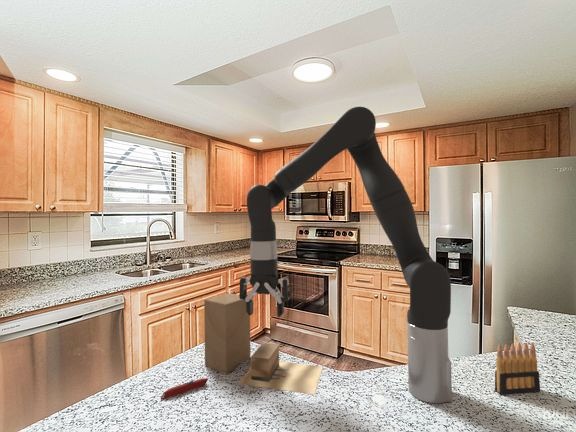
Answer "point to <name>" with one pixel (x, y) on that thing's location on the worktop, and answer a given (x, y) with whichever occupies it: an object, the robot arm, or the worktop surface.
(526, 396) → the worktop surface
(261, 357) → the block
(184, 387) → the utility knife
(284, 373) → the pine board
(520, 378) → the ammunition clip
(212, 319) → the wooden block
